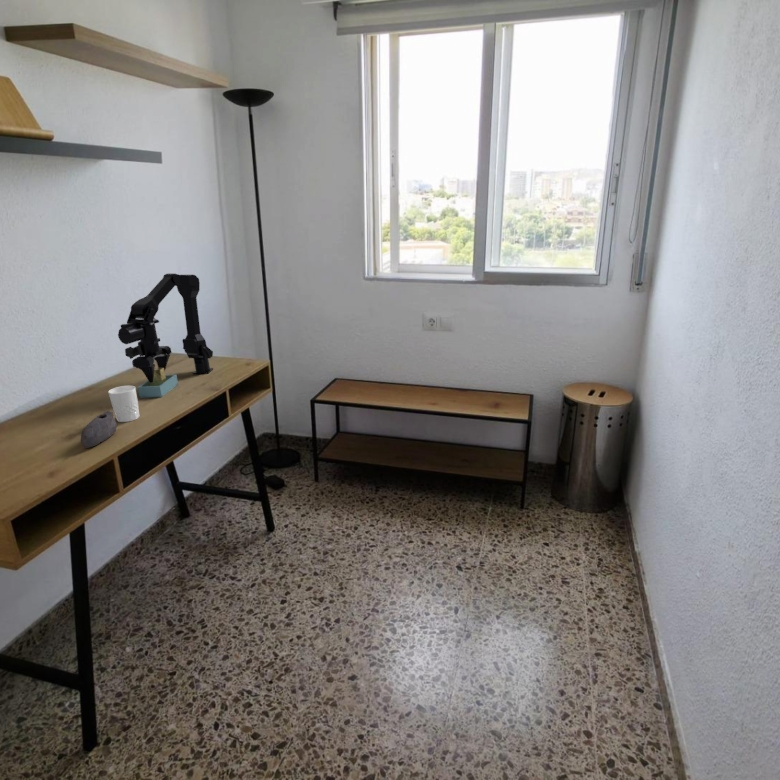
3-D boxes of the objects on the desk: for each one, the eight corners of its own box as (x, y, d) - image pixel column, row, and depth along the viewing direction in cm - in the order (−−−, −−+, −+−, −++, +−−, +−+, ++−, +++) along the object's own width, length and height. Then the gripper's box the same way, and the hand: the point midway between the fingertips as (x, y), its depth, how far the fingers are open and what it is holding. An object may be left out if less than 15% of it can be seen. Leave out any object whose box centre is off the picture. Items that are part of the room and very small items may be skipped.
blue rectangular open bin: (157, 385, 203) (155, 375, 202) (178, 384, 203) (176, 374, 202) (139, 397, 190) (137, 387, 189) (161, 397, 190) (159, 386, 188)
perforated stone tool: (92, 452, 147) (87, 429, 145) (75, 452, 148) (69, 429, 146) (123, 430, 161) (119, 409, 159) (108, 430, 162) (102, 409, 160)
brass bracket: (156, 386, 199) (152, 366, 197) (169, 386, 199) (165, 366, 196) (149, 392, 194) (144, 371, 191) (162, 391, 193) (158, 371, 191)
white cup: (131, 423, 167) (124, 393, 163) (109, 422, 168) (102, 393, 165) (146, 414, 174) (140, 385, 171) (125, 413, 175) (119, 385, 172)
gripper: (139, 332, 199) (147, 371, 204) (113, 344, 181) (122, 387, 186) (168, 331, 198) (175, 370, 204) (144, 343, 181) (153, 386, 186)
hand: (156, 378), depth 195 cm, fingers open, 9 cm apart
